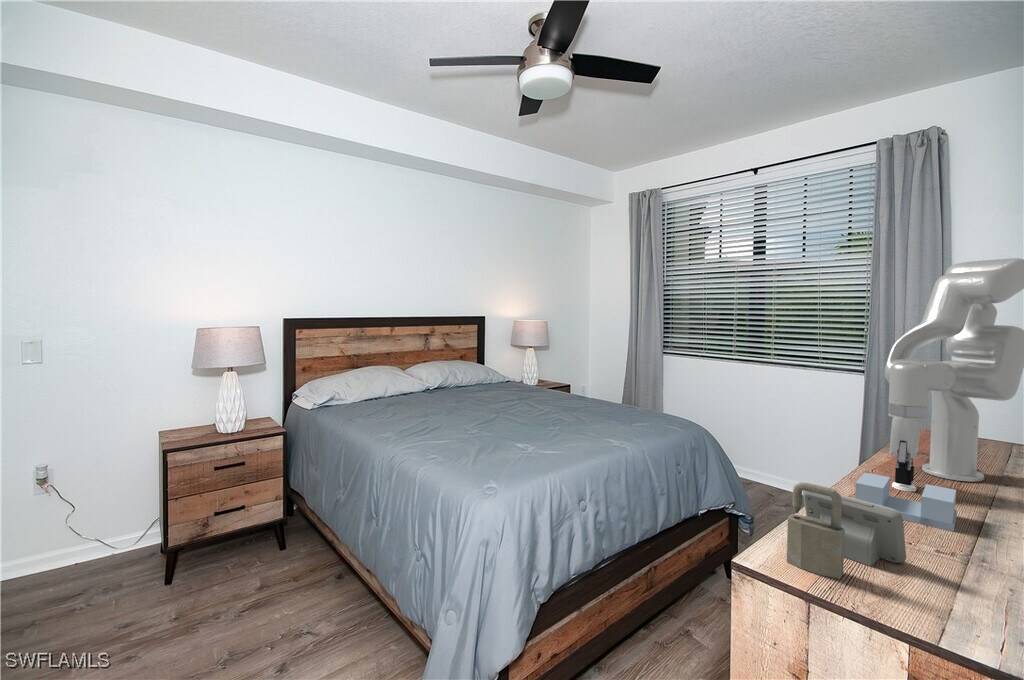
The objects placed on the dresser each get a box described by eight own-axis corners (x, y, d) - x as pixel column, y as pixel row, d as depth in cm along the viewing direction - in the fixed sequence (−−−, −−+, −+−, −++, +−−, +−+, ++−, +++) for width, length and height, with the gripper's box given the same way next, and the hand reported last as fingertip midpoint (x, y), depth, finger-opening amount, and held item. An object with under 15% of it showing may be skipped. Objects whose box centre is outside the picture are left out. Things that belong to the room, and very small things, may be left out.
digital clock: (912, 565, 85) (914, 507, 85) (883, 577, 81) (885, 517, 81) (820, 528, 100) (822, 479, 99) (792, 537, 96) (794, 486, 95)
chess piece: (918, 492, 119) (919, 453, 118) (893, 489, 121) (894, 450, 121) (914, 486, 123) (916, 448, 122) (890, 483, 126) (891, 446, 125)
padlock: (791, 555, 89) (794, 476, 88) (844, 572, 83) (847, 488, 82) (785, 563, 86) (787, 482, 85) (838, 581, 80) (841, 494, 79)
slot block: (862, 496, 117) (863, 472, 117) (956, 516, 105) (957, 490, 105) (853, 507, 110) (854, 482, 110) (953, 531, 98) (955, 503, 98)
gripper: (893, 404, 129) (890, 471, 131) (883, 414, 118) (880, 486, 119) (929, 408, 124) (926, 477, 125) (922, 418, 113) (919, 494, 114)
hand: (904, 481), depth 122 cm, fingers open, 3 cm apart
